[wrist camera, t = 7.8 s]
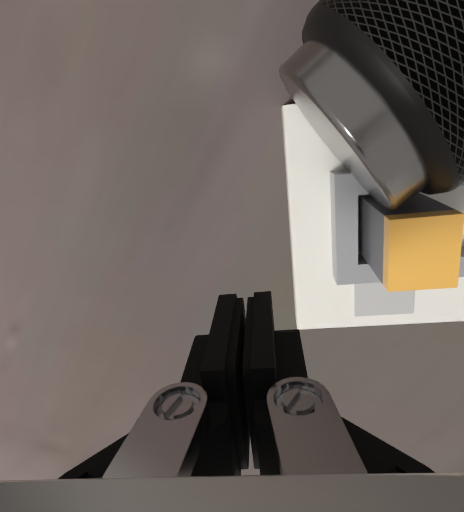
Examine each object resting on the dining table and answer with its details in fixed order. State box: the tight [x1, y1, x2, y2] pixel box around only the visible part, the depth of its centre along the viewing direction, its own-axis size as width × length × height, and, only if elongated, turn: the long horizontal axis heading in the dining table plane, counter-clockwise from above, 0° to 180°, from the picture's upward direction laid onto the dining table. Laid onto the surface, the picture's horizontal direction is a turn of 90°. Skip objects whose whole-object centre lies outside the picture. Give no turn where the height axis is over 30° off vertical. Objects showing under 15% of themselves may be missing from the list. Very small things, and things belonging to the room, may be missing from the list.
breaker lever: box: [359, 193, 464, 292], centre depth 19 cm, size 3×3×6 cm
